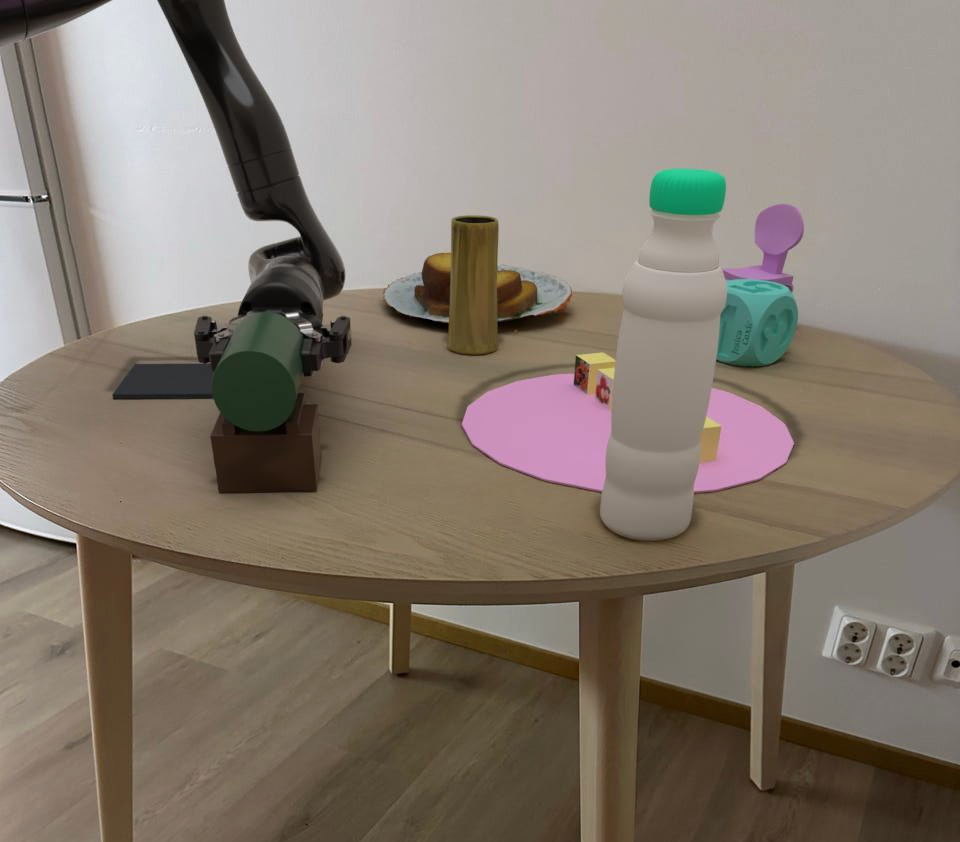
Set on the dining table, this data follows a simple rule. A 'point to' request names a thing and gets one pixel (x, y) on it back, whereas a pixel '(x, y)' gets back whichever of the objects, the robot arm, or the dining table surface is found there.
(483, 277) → the vase
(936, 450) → the dining table surface
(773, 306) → the decorative dice
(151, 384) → the coaster
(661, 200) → the water bottle
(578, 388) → the platter
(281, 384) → the green can
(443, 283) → the food on plate
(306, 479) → the cradle
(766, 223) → the toy chair
